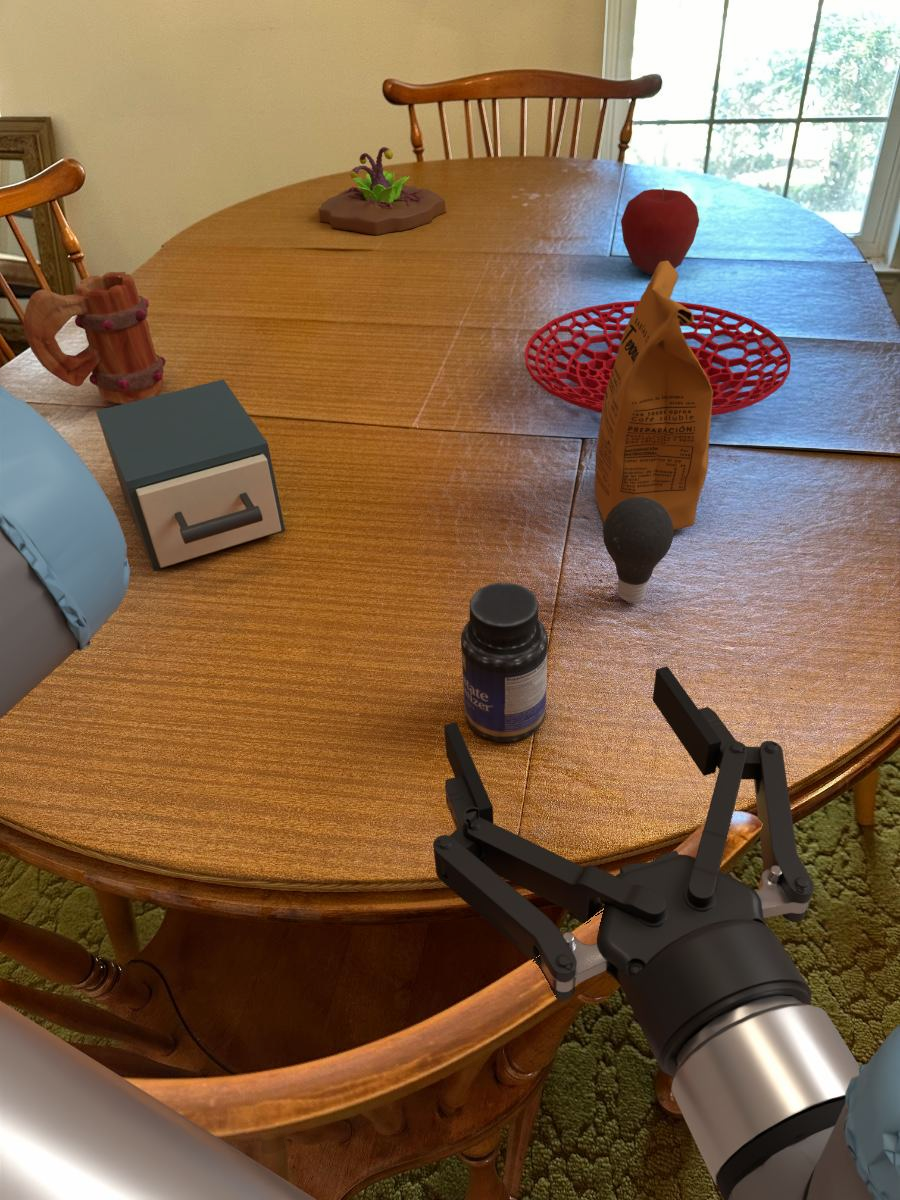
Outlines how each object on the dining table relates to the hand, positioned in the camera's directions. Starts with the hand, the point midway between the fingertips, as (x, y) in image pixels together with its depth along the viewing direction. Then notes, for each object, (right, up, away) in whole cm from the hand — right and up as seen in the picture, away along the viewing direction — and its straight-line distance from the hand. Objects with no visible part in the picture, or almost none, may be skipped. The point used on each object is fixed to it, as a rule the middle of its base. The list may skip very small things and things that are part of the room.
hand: (557, 710), depth 57 cm
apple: (+24, +55, +80) cm, 100 cm away
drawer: (-30, +14, +34) cm, 47 cm away
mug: (-47, +31, +57) cm, 80 cm away
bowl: (+17, +31, +52) cm, 63 cm away
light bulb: (+9, +7, +23) cm, 26 cm away
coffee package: (+12, +16, +35) cm, 40 cm away
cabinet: (-32, +15, +37) cm, 51 cm away
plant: (-18, +74, +107) cm, 131 cm away
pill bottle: (-2, -2, +14) cm, 14 cm away
